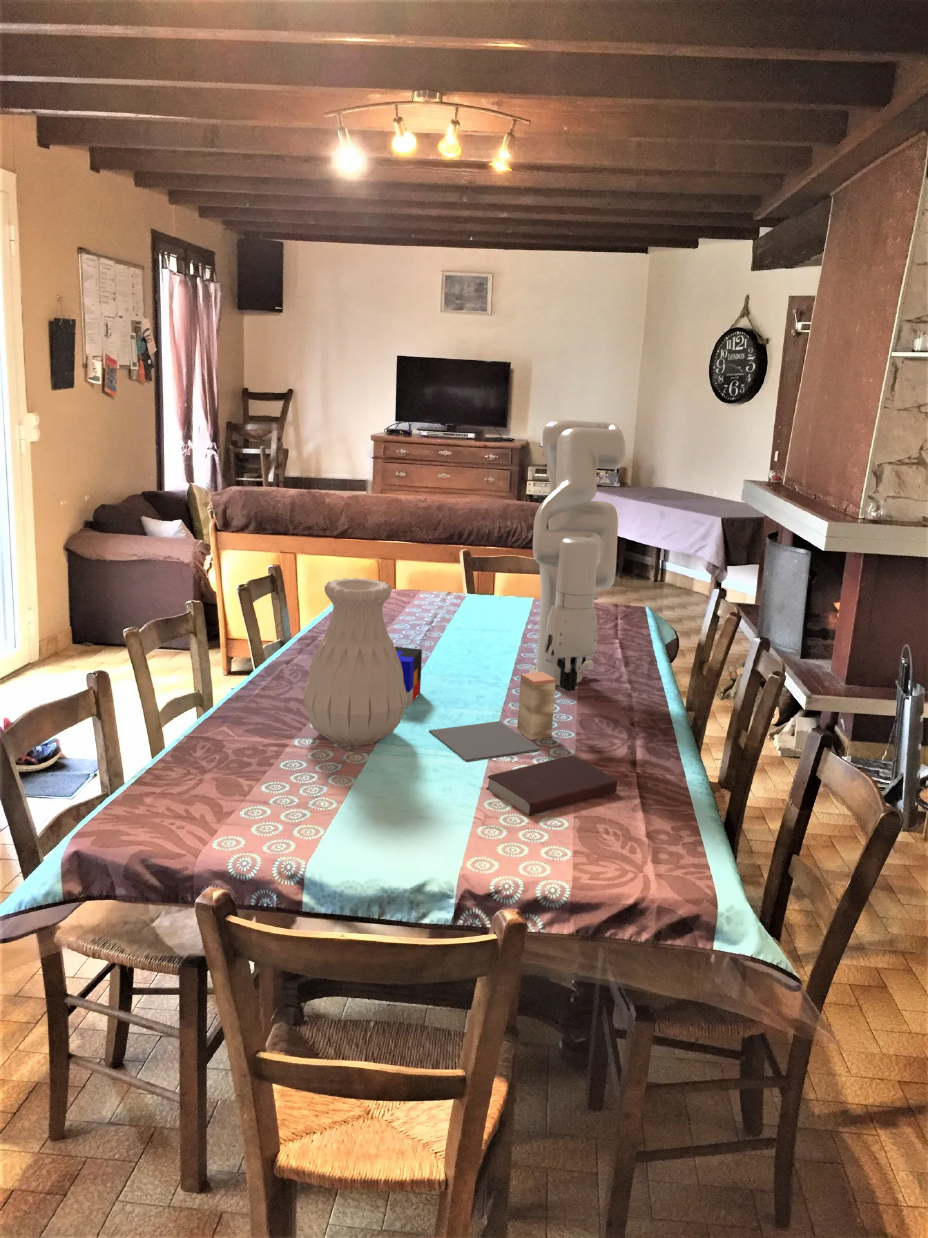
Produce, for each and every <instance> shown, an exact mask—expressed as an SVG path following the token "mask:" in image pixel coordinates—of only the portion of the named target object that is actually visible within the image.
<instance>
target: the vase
mask: <svg viewBox="0 0 928 1238" xmlns="http://www.w3.org/2000/svg"><path fill="white" fill-rule="evenodd" d="M324 593H325V596H327V598H328V599H329V601H330V602H331V604H332V605H333V606H332V607H333V608H332V615H331V619H330V621H329V624H328V626H327V629H326V630H325V634H324V636H323V637H322V638H321V640H320V642H319V643H318V646H317V648H316V651H315V653H314V655H313V657H312V659H311V662H310V665H309V671H308V678H307V680H306V683H305V687H304V691H303V694H302V696H303V702H304V707H305V709H306V713H307V714H306V715H307V716H308V720H309V723H310V724H311V726H312V729H314V730H315V731H316V732H317V733H319V734H320V735H322V736H324V737H326V739H328V740H329V741H330V742H333V743H336V744H338V745H340V744H341V745H342V746H345V745H346V746H353V747H354V746H360V747H361V746H365V745H371V744H374V743H377V742H379V741H380V740H382V739H384V738H385V737H387V736H389V735H391V734H392V733H393V732H394V731H395V730H396V729H397V728H398V726H399V725H400V723H401V722H402V721H401V720H402V718H403V716H404V713H405V711H406V707H407V706H406V704H407V701H408V697H407V693H406V688H405V685H404V680H403V670H402V666H401V662H400V660H399V657H398V655H397V652H396V649H395V647H396V646H395V644H394V642H393V640H392V639H391V637H390V635H389V633H388V629H387V627H386V624H385V620H384V615H383V608H384V607H383V606H384V605H385V603H386V602H387V601H388V600H389V598H390V596H391V593H392V586H391V585H390V584H388V582H385V581H380V580H378V579H370V578H359V577H354V578H347V577H346V578H342V579H337V578H336V579H333V581H327V583H326V584H325V586H324Z"/></svg>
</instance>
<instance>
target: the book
mask: <svg viewBox="0 0 928 1238" xmlns="http://www.w3.org/2000/svg"><path fill="white" fill-rule="evenodd" d="M486 779H488V785H487V787H485V788H486V789H485V790H487V791H490V792H492V793H494V794H495V795H496V796H498V797H500V798H501V799H503V800H505V801H506V802H508V803H510V804H511V805H513V806H514V807H516V808H517V809H519V810H521V811H523V812H524V813H526V814H527V815H528V816H534V815H537V814H543V813H545V812H548V811H553V810H557V809H559V808H564V807H566V806H572V805H574V804H579V803H583V802H586V801H590V800H594V799H597V798H601V797H605V796H610V795H613V794H615V793H616V792H617V788H618V780H617V779H615V778H614V777H612V776H611V775H610V774H608V773H606V772H605V771H603V770H601V769H599V768H598V767H596V766H594V765H593V764H590V763H589V762H587V761H585V760H584V759H581V758H580V757H578V756H575V755H567V756H562V757H558V758H554V759H550V760H546V761H542V762H538V763H535V764H529V765H527V766H523V767H519V768H514V769H510V770H505V771H501V772H497V773H493V774H490V775H488V776H487V777H486Z"/></svg>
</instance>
